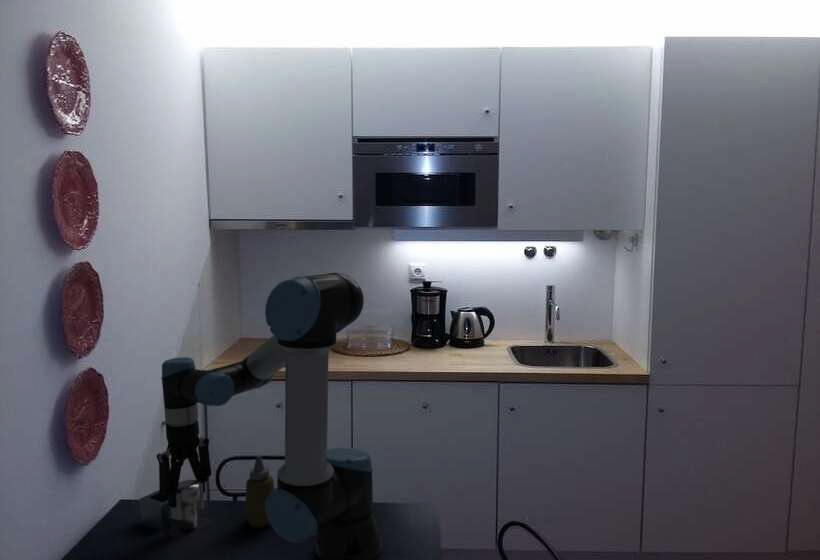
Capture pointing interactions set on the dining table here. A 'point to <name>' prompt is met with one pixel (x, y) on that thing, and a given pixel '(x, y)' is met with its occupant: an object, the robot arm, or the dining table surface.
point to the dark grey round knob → (189, 503)
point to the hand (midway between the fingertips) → (188, 512)
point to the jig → (164, 516)
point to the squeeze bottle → (258, 494)
